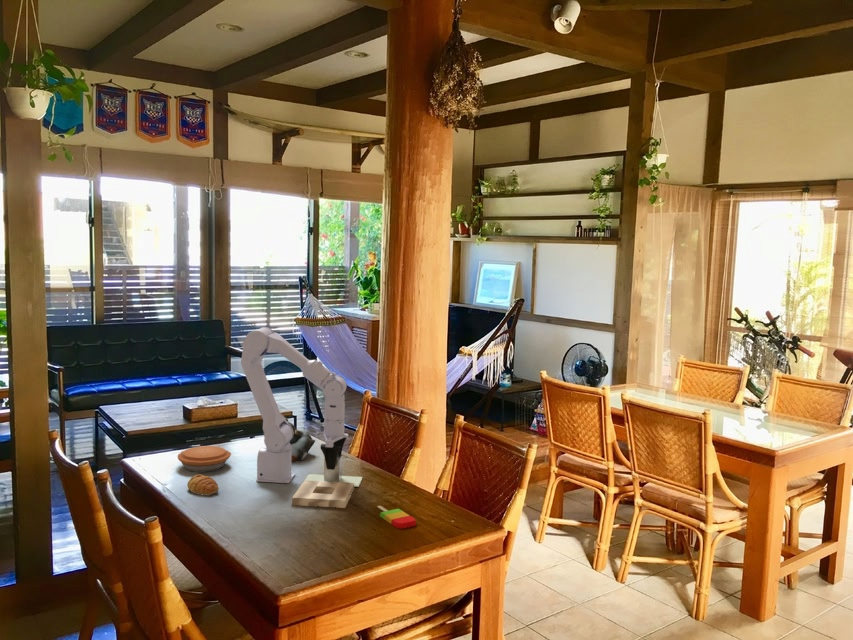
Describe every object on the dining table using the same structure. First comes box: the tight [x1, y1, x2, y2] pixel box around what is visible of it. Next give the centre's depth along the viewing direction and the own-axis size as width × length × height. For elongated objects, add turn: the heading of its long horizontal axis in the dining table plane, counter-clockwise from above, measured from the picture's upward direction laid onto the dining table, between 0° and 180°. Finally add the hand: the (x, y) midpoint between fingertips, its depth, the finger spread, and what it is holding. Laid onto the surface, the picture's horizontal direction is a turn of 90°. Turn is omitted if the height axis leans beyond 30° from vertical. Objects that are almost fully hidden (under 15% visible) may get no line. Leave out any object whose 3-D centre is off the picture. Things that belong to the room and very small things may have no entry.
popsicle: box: [376, 505, 417, 529], centre depth 181 cm, size 6×15×2 cm, turn 33°
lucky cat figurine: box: [263, 417, 316, 463], centre depth 228 cm, size 15×12×14 cm
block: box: [323, 453, 343, 482], centre depth 205 cm, size 4×4×7 cm
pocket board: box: [291, 479, 355, 509], centre depth 193 cm, size 14×14×2 cm
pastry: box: [187, 474, 220, 496], centre depth 195 cm, size 9×7×4 cm
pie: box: [177, 445, 232, 473], centre depth 216 cm, size 15×16×5 cm
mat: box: [304, 473, 364, 487], centre depth 206 cm, size 16×8×1 cm, turn 87°
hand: (333, 465), depth 205 cm, fingers open, 7 cm apart
